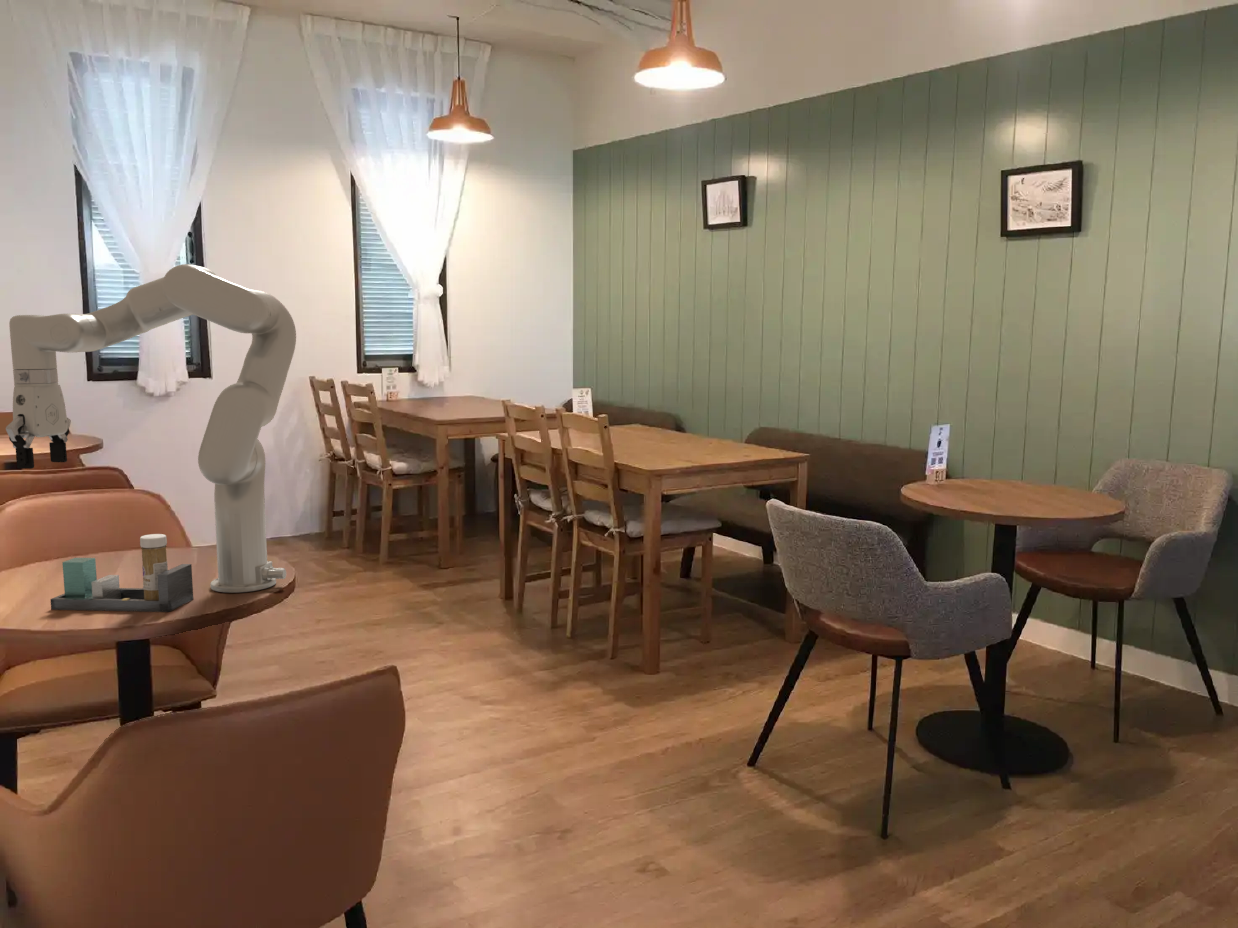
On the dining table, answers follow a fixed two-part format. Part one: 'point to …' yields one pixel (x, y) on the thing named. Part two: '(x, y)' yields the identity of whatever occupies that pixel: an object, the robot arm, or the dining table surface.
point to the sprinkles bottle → (153, 563)
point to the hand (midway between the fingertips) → (42, 465)
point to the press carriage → (88, 581)
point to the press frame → (139, 595)
